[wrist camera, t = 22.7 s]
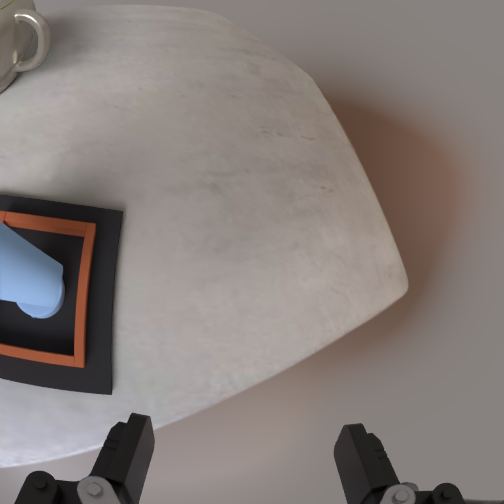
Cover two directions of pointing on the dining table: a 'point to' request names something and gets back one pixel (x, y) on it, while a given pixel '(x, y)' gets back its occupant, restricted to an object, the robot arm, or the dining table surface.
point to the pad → (75, 302)
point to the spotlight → (29, 276)
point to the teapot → (20, 38)
